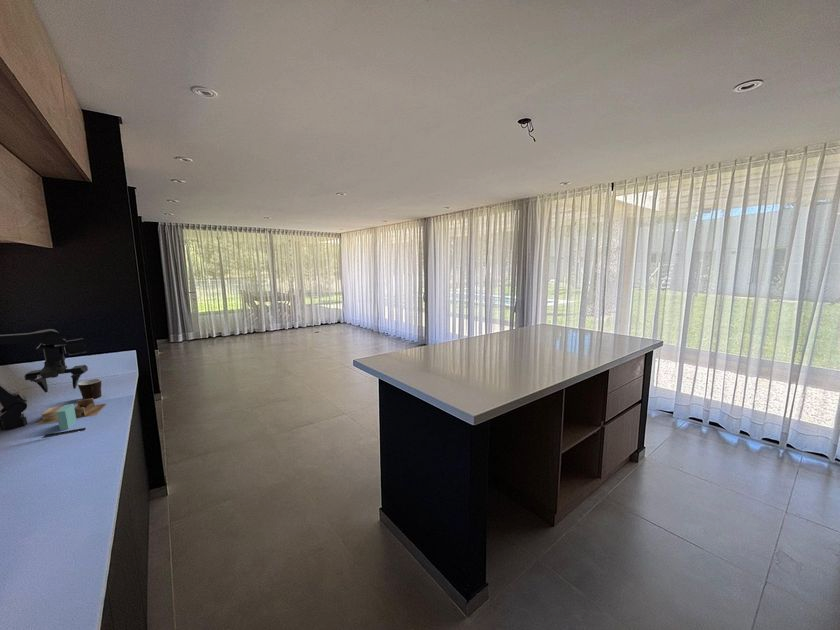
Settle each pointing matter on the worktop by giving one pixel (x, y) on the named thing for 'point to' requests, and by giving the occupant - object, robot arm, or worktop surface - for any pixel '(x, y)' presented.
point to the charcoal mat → (63, 433)
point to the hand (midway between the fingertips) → (60, 390)
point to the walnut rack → (81, 410)
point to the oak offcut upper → (51, 411)
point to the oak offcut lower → (50, 418)
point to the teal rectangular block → (66, 416)
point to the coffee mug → (90, 388)
